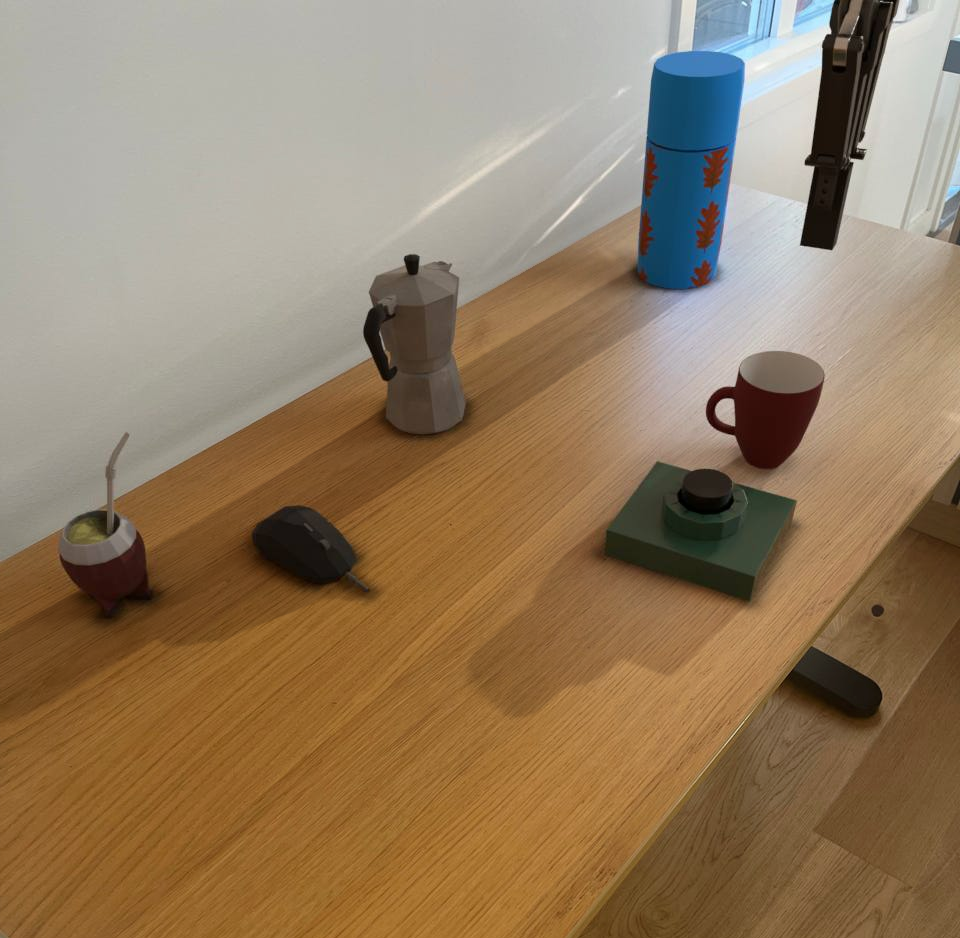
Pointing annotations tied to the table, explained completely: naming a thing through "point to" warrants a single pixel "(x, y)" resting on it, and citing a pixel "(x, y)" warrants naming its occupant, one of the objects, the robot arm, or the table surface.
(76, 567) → the mate gourd
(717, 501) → the black round button
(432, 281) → the coffeepot
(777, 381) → the mug
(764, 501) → the green button base
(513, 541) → the table surface
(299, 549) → the gaming mouse
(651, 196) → the thermos
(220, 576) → the table surface
